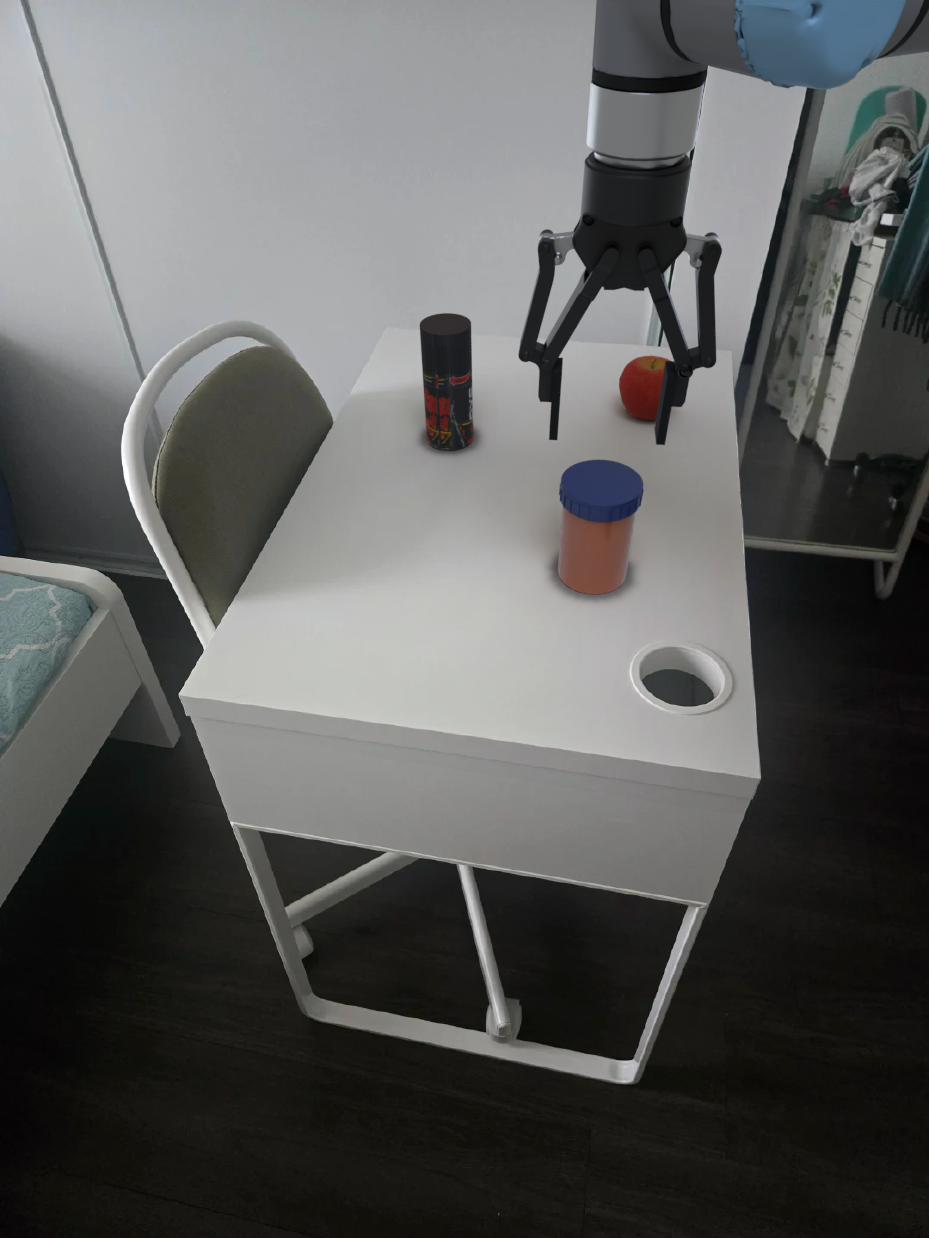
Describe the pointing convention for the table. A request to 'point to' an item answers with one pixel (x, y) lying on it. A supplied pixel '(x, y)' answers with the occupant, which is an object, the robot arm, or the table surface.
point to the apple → (642, 386)
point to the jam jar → (594, 553)
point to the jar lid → (601, 490)
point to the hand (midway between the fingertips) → (606, 434)
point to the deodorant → (447, 380)
